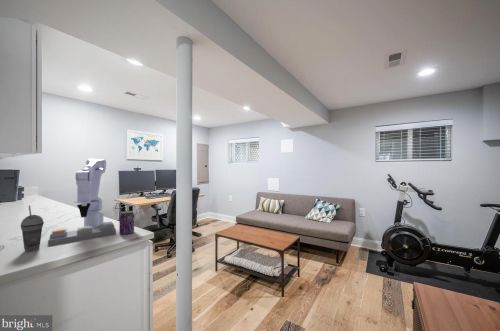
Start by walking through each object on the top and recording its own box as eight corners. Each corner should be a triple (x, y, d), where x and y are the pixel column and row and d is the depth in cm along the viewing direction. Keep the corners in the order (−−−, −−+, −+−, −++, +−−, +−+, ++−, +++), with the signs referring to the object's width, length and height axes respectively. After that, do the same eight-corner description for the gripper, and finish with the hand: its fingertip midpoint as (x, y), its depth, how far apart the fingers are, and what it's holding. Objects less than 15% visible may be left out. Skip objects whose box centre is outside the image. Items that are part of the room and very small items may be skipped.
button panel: (113, 229, 122) (113, 221, 122) (115, 233, 114) (115, 225, 114) (50, 239, 105) (50, 230, 105) (48, 245, 96) (48, 236, 96)
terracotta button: (64, 231, 106) (64, 228, 106) (64, 233, 102) (64, 229, 102) (53, 233, 103) (53, 229, 103) (52, 235, 100) (52, 231, 100)
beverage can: (127, 235, 111) (127, 213, 111) (116, 234, 112) (116, 212, 112) (136, 231, 118) (137, 210, 118) (126, 230, 119) (126, 210, 119)
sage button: (89, 229, 112) (89, 226, 112) (89, 231, 109) (89, 227, 109) (79, 231, 109) (79, 227, 109) (79, 233, 106) (79, 229, 106)
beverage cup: (36, 252, 89) (36, 206, 89) (15, 254, 87) (15, 207, 87) (47, 245, 96) (48, 203, 96) (28, 247, 94) (28, 204, 94)
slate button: (111, 224, 119) (111, 221, 119) (112, 226, 115) (112, 223, 115) (102, 226, 116) (102, 222, 116) (102, 227, 113) (103, 224, 113)
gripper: (74, 191, 116) (74, 215, 116) (74, 194, 105) (74, 221, 105) (90, 190, 120) (90, 213, 120) (91, 193, 109) (91, 218, 109)
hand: (83, 217), depth 113 cm, fingers closed
